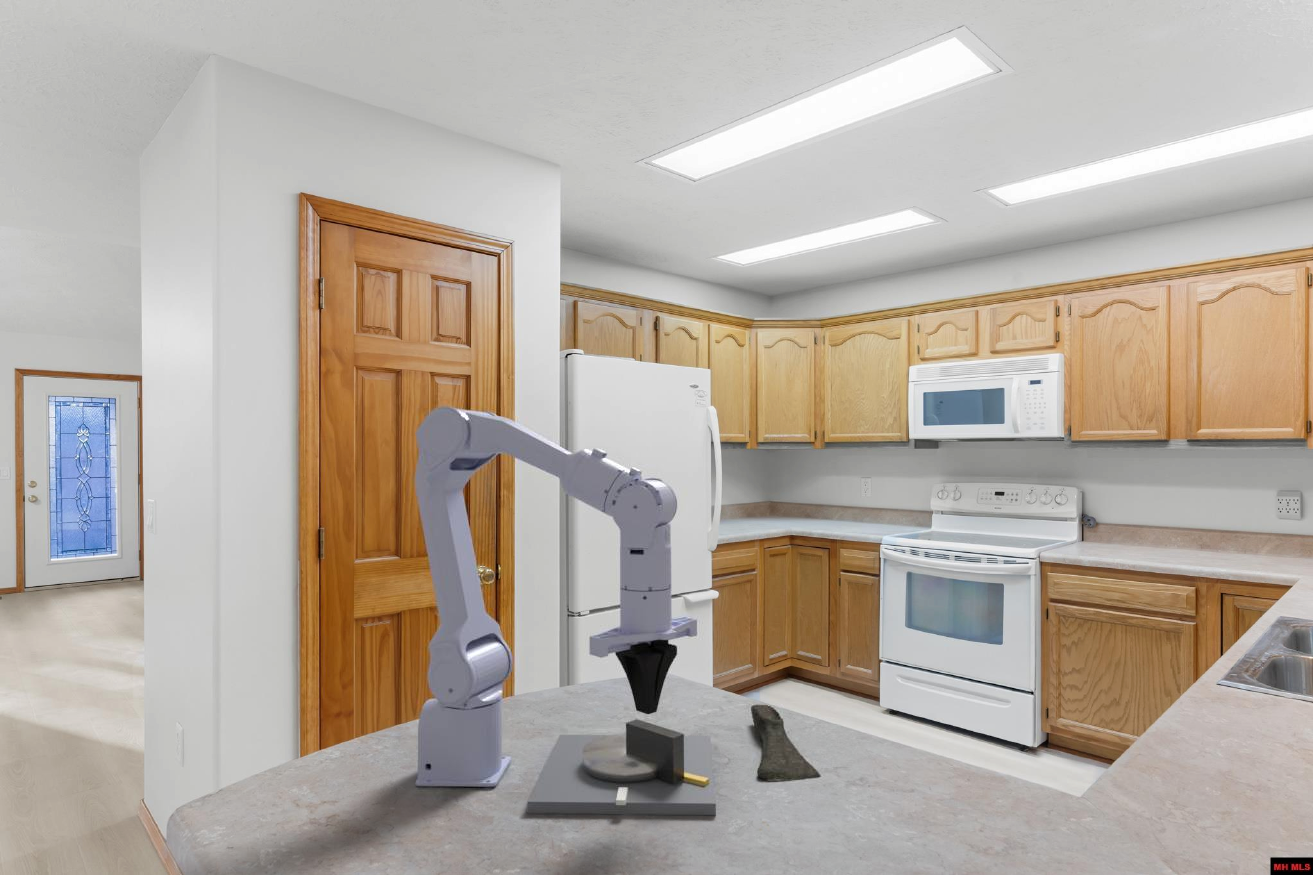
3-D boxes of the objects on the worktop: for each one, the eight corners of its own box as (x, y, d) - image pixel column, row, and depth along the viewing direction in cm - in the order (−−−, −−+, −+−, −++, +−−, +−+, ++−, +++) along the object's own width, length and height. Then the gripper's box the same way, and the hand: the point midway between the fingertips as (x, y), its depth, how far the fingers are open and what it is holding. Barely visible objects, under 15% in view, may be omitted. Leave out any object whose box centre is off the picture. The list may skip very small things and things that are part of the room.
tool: (823, 793, 87) (825, 768, 87) (758, 790, 87) (760, 765, 87) (781, 716, 108) (783, 695, 108) (729, 713, 108) (731, 693, 108)
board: (526, 815, 79) (526, 799, 79) (559, 743, 99) (559, 730, 99) (716, 817, 78) (715, 801, 78) (710, 744, 99) (710, 731, 99)
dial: (563, 763, 89) (563, 721, 89) (629, 738, 97) (628, 699, 97) (644, 797, 80) (644, 749, 80) (709, 766, 88) (709, 723, 88)
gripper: (619, 600, 75) (620, 736, 75) (716, 584, 85) (717, 704, 85) (577, 591, 80) (577, 719, 80) (672, 577, 90) (673, 691, 90)
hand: (646, 711), depth 83 cm, fingers closed
